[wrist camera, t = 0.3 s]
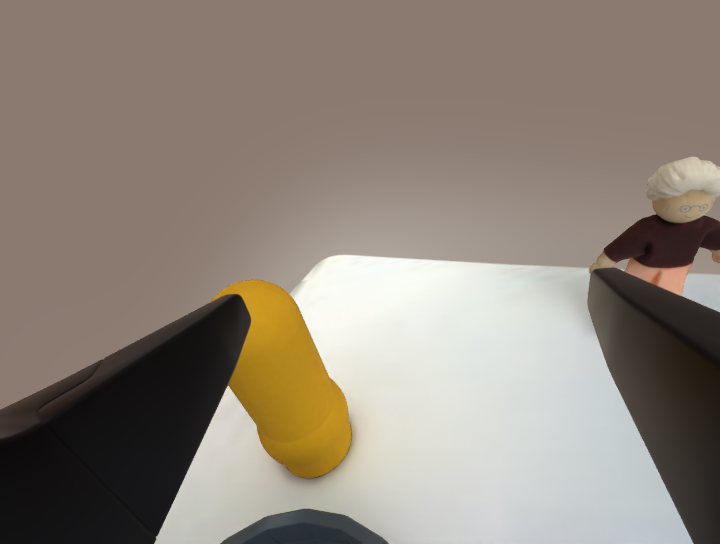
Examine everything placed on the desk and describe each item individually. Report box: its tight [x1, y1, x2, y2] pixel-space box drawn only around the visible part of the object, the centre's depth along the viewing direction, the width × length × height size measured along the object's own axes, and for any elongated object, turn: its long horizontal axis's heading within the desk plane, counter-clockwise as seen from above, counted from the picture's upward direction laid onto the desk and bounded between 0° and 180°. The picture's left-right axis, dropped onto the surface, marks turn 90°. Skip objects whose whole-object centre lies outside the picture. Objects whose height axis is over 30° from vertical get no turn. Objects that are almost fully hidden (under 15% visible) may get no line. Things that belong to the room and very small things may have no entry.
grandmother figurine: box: [589, 157, 720, 296], centre depth 22 cm, size 8×4×13 cm, turn 94°
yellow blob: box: [211, 280, 352, 478], centre depth 21 cm, size 6×6×14 cm
